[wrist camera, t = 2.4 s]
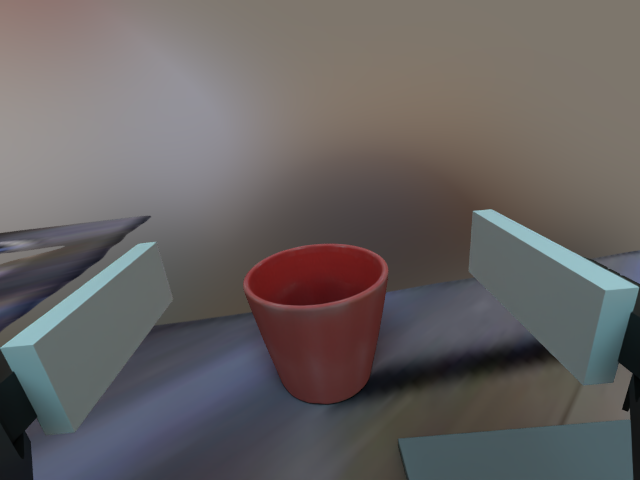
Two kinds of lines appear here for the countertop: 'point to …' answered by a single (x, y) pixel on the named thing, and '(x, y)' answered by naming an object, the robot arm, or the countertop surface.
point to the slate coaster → (524, 454)
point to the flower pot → (320, 317)
